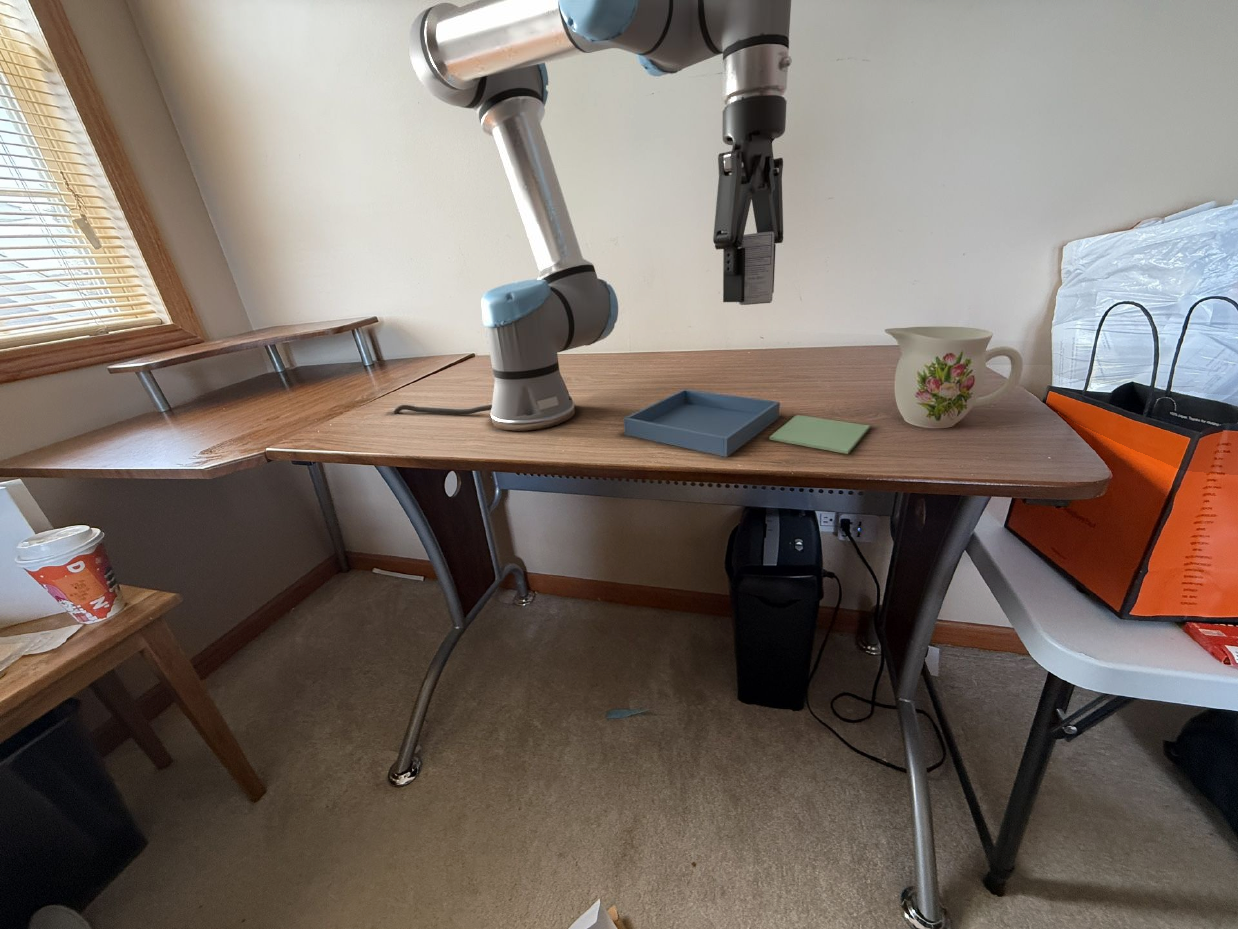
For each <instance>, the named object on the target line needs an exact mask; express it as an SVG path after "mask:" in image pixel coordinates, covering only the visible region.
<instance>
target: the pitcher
mask: <svg viewBox="0 0 1238 929" xmlns="http://www.w3.org/2000/svg"><path fill="white" fill-rule="evenodd" d="M884 332H885V333H886V334H887V335H889V336H891V337H892V338H893V339H894V340H896V343H897V344H898V346H899V349H900V352H901V355H900V357H899V360H898V362H897V365H896V370H895V375H894V397H895V402H896V406H897V409H898V412H899V413H900V415H901V416H902V418H903V420H904V421H905V422H906V423H908V424H909V425H912V426H916V427H918V428H919V427H920V428H925V429H948V428H952V427H954V426H955V425H956V424H958V423H959V422H960V421H961V420H963V418H965V417H966V415H967V414H968V413H969V412H970V411H971V409H976V408H981V407H986V406H989V405H992V404H995V403H997V402H1000V401H1001V400H1002V399H1004V398H1006V397H1007V396H1008V395H1009V394H1010V393H1012V391H1013V390H1015V388H1016V387H1017V386H1018V383H1019V381H1020V380H1021V376H1022V373H1023V368H1024V363H1023V362H1024V361H1023V358H1022V355H1021V353H1020V352H1019V351H1018V350H1017V349H1016V348H1014V347H1010V346H997V347H993V348H990V349H987V348H988V346H989V344H990V342H991V340H992V338H993V333H992V332H991V331H989V330H986V329H980V328H975V327H964V326H909V327H894V328H885V329H884ZM997 357H1007V358H1008V359H1009V362H1010V366H1011V367H1010V369H1011V370H1010V372H1009V375H1008V378H1007V380H1006V381H1005V383H1004V384H1003V385H1002V386H1001V387H1000V388H998V389H997V390H995V391H994V392H991V393H989V394H987V395H984V396H980V394H981V392H982V389H983V386H984V384H985V379H986V375H987V363H988V362H989V361H990V360H992V359H995V358H997ZM979 396H980V397H979Z"/></svg>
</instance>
